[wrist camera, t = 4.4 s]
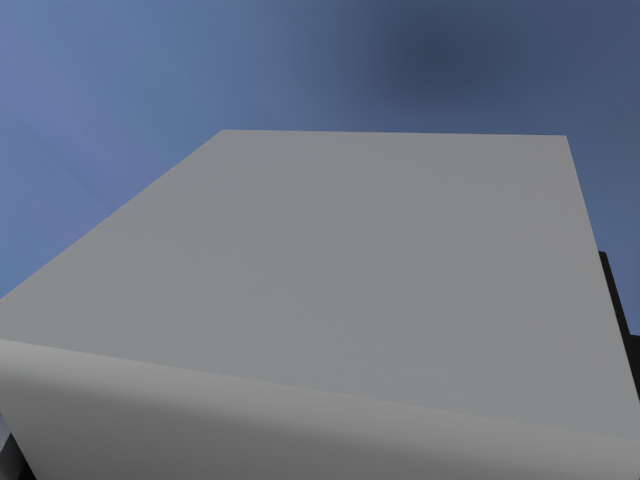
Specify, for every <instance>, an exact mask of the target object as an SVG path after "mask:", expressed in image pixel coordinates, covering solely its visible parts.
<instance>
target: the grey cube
mask: <svg viewBox="0 0 640 480" xmlns="http://www.w3.org/2000/svg"><path fill="white" fill-rule="evenodd" d="M0 412H1V414H2V416H3V418H4V420H5V422H6V424H7V425H8V427H9V429H10V431H11V433H12V435H13V437H14V438H15V440H16V442H17V444H18V446H19V448H20V450H21V451H22V453H23V455H24V457H25V459H26V461H27V463H28V464H29V466H30V468H31V470H32V472H33V474H34V476H35V477H36V479H37V480H639V479H640V402H639V399H638V395H637V391H636V388H635V384H634V380H633V377H632V373H631V370H630V366H629V362H628V359H627V355H626V351H625V348H624V344H623V340H622V337H621V333H620V330H619V326H618V322H617V319H616V315H615V311H614V308H613V304H612V301H611V297H610V293H609V290H608V286H607V282H606V279H605V275H604V271H603V268H602V264H601V261H600V257H599V253H598V250H597V246H596V242H595V239H594V235H593V232H592V228H591V224H590V221H589V217H588V213H587V210H586V206H585V202H584V199H583V195H582V192H581V188H580V184H579V181H578V177H577V173H576V170H575V166H574V163H573V159H572V155H571V152H570V148H569V144H568V141H567V137H566V136H559V135H502V134H444V133H386V132H329V131H271V130H221V131H220V132H219V133H217V134H216V135H215V136H213V137H212V138H211V139H209V140H208V141H207V142H206V143H204V144H203V145H202V146H200V147H199V148H198V149H196V150H195V151H194V152H192V153H191V154H190V155H188V156H187V157H186V158H185V159H183V160H182V161H181V162H179V163H178V164H177V165H175V166H174V167H173V168H171V169H170V170H169V171H168V172H166V173H165V174H164V175H162V176H161V177H160V178H158V179H157V180H156V181H154V182H153V183H152V184H151V185H149V186H148V187H147V188H145V189H144V190H143V191H141V192H140V193H139V194H137V195H136V196H135V197H134V198H132V199H131V200H130V201H128V202H127V203H126V204H124V205H123V206H122V207H120V208H119V209H118V210H116V211H115V212H114V213H113V214H111V215H110V216H109V217H107V218H106V219H105V220H103V221H102V222H101V223H99V224H98V225H97V226H96V227H94V228H93V229H92V230H90V231H89V232H88V233H86V234H85V235H84V236H82V237H81V238H80V239H79V240H77V241H76V242H75V243H73V244H72V245H71V246H69V247H68V248H67V249H65V250H64V251H63V252H62V253H60V254H59V255H58V256H56V257H55V258H54V259H52V260H51V261H50V262H48V263H47V264H46V265H44V266H43V267H42V268H41V269H39V270H38V271H37V272H35V273H34V274H33V275H31V276H30V277H29V278H27V279H26V280H25V281H24V282H22V283H21V284H20V285H18V286H17V287H16V288H14V289H13V290H12V291H10V292H9V293H8V294H7V295H5V296H4V297H3V298H1V299H0Z"/></svg>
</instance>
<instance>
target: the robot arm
mask: <svg viewBox="0 0 640 480" xmlns="http://www.w3.org/2000/svg"><path fill="white" fill-rule="evenodd" d="M598 253H599V257H600V261H601V264H602V268H603V271H604V275H605V279H606V282H607V286H608V290H609V293H610V297H611V301H612V304H613V308H614V311H615V315H616V319H617V322H618V326H619V330H620V333H621V337H622V340H623V344H624V348H625V351H626V355H627V359H628V362H629V366H630V370H631V373H632V377H633V380H634V384H635V388H636V391H637V395H638V399H639V402H640V336H637V335H630V332H629V329H628V326H627V322H626V319H625V316H624V312H623V309H622V305H621V302H620V299H619V295H618V292H617V289H616V285H615V282H614V278H613V275H612V272H611V268H610V265H609V262H608V258H607V255H606V253H605V252H600V251H598ZM0 480H37V479H36V477H35V476H34V474H33V472H32V470H31V468H30V466H29V464H28V463H27V461H26V459H25V457H24V455H23V453H22V451H21V450H20V448H19V446H18V444H17V442H16V440H15V438H14V437H13V435H12V433H11V431H10V429H9V427H8V425H7V424H6V422H5V420H4V418H3V416H2V414H1V412H0ZM639 480H640V479H639Z"/></svg>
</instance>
